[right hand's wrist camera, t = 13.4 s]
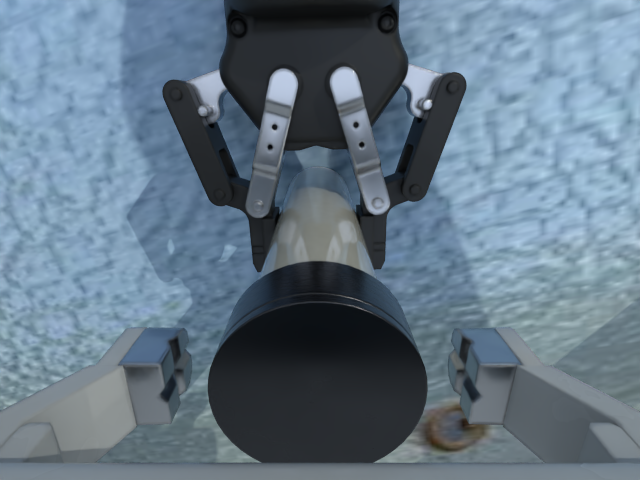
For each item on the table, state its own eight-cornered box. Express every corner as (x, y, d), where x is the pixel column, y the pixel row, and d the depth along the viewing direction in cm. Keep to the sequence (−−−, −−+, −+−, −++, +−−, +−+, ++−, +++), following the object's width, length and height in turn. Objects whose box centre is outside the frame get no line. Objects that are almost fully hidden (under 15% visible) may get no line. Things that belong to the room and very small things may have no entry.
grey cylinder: (358, 210, 27) (430, 414, 10) (304, 235, 27) (281, 468, 10) (332, 155, 25) (362, 277, 8) (276, 183, 26) (195, 350, 9)
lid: (432, 374, 11) (458, 434, 9) (281, 431, 12) (273, 498, 10) (364, 228, 10) (375, 263, 8) (193, 306, 10) (163, 355, 8)
